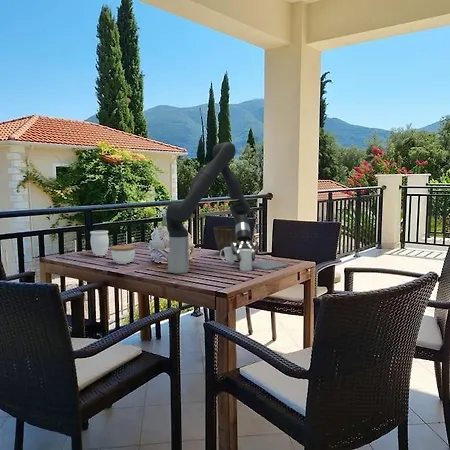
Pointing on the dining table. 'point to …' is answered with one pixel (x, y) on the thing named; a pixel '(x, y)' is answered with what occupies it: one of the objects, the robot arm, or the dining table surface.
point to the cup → (228, 255)
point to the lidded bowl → (123, 253)
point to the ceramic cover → (245, 259)
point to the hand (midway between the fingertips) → (246, 260)
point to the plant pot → (224, 237)
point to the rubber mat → (267, 265)
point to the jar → (99, 242)
